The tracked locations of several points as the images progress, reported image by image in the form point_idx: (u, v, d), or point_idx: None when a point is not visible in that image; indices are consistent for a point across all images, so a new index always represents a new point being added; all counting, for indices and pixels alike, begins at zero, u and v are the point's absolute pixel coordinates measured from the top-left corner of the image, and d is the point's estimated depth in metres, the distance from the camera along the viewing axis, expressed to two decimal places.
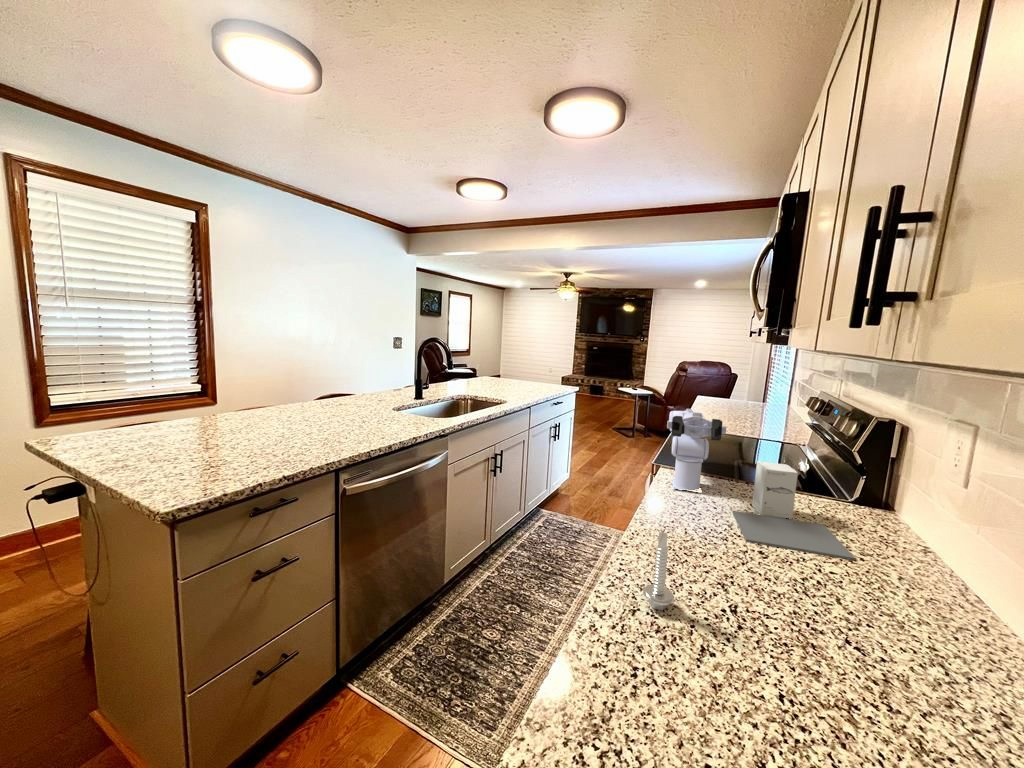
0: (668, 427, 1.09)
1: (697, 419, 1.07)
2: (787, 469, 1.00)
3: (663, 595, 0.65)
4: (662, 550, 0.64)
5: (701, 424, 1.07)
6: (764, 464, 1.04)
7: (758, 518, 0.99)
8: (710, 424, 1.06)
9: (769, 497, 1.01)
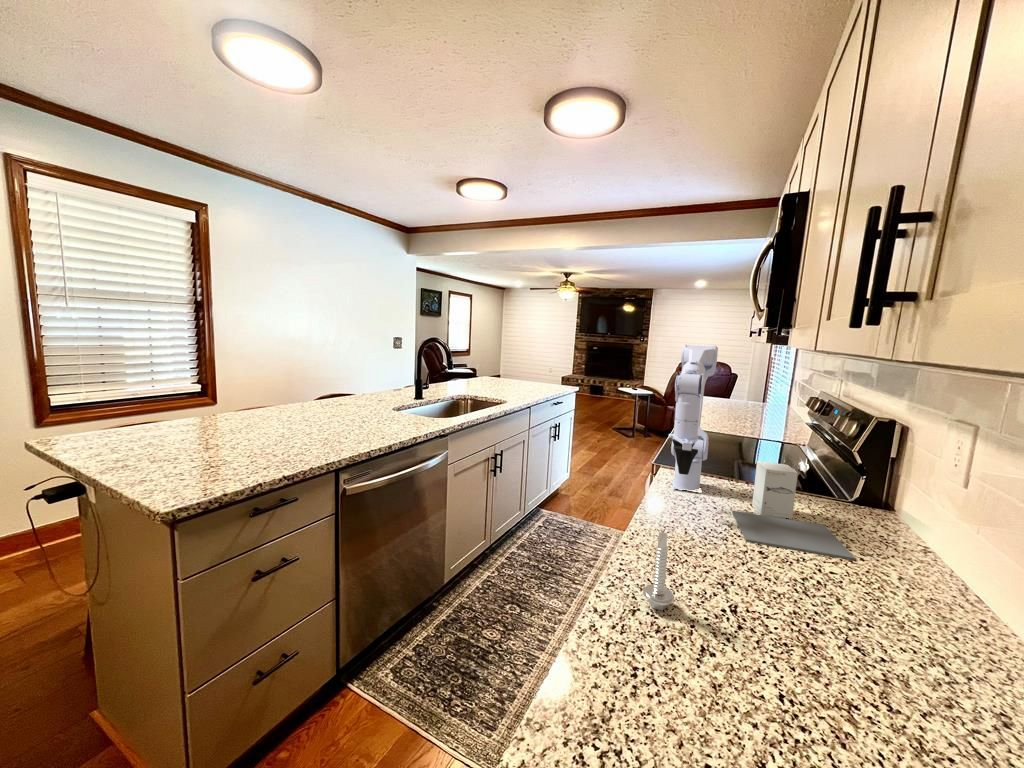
0: None
1: None
2: (787, 469, 1.00)
3: (663, 595, 0.65)
4: (662, 550, 0.64)
5: None
6: (764, 464, 1.04)
7: (758, 518, 0.99)
8: None
9: (769, 497, 1.01)
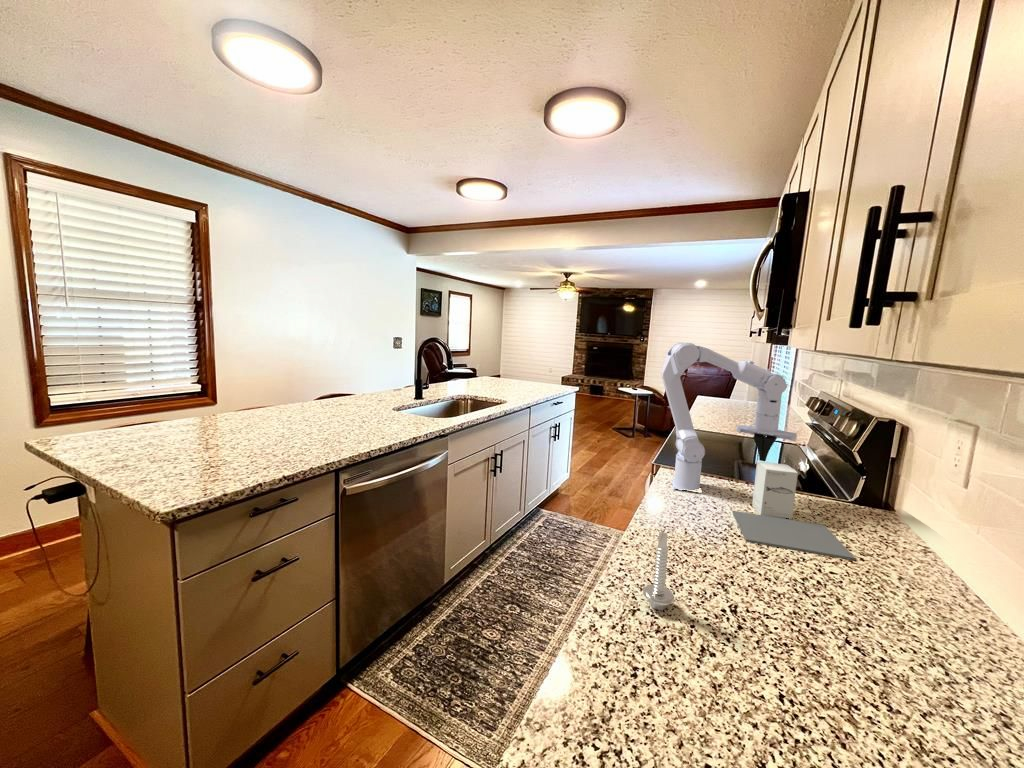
0: None
1: None
2: (787, 469, 1.00)
3: (663, 595, 0.65)
4: (662, 550, 0.64)
5: None
6: (764, 464, 1.04)
7: (758, 518, 0.99)
8: (779, 434, 1.11)
9: (769, 497, 1.01)
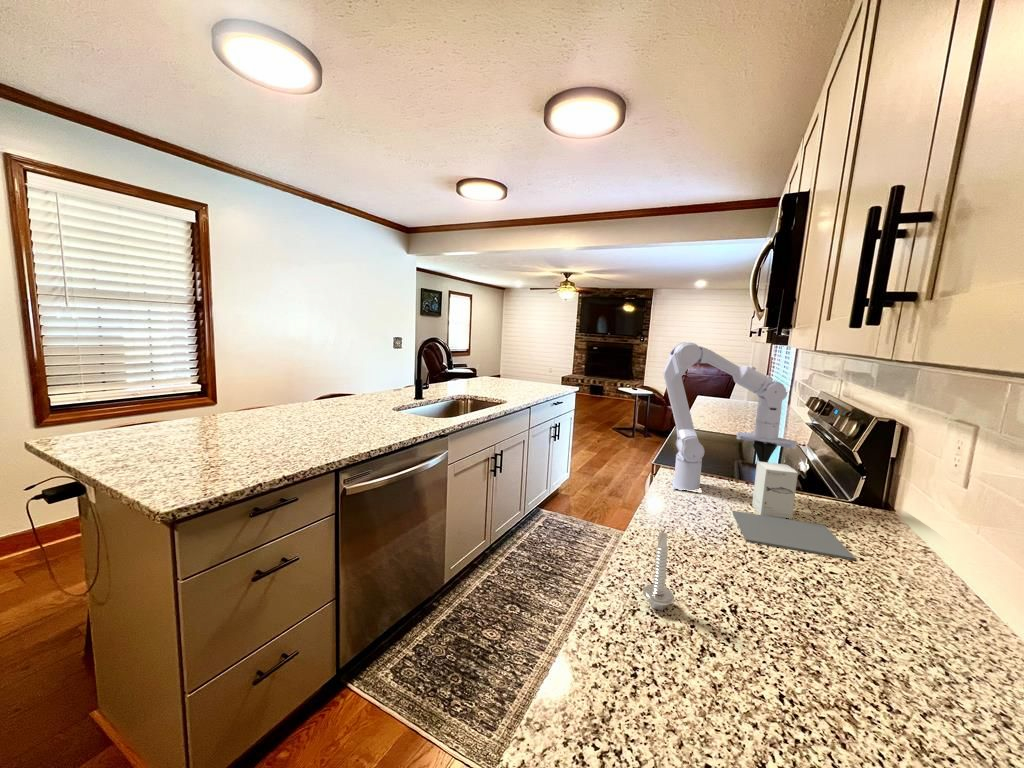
0: None
1: None
2: (787, 469, 1.00)
3: (663, 595, 0.65)
4: (662, 550, 0.64)
5: None
6: (764, 464, 1.04)
7: (758, 518, 0.99)
8: (779, 442, 1.10)
9: (769, 497, 1.01)
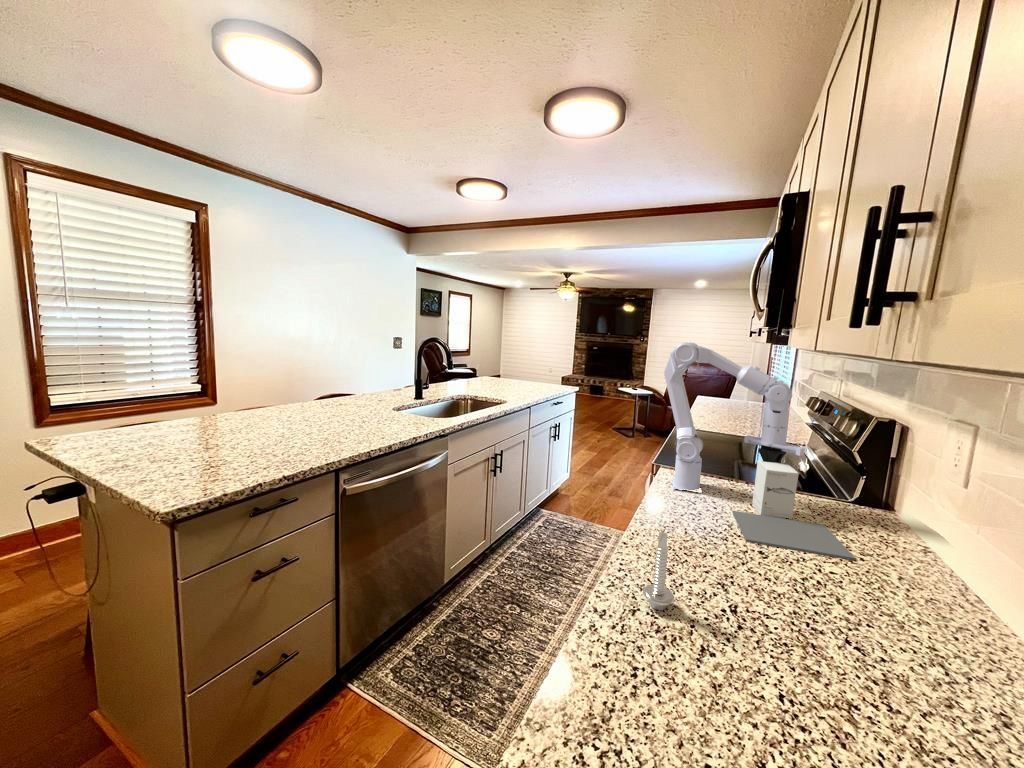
0: None
1: None
2: (788, 469, 1.00)
3: (663, 595, 0.65)
4: (662, 550, 0.64)
5: None
6: (765, 464, 1.03)
7: (758, 518, 0.99)
8: None
9: (769, 497, 1.00)
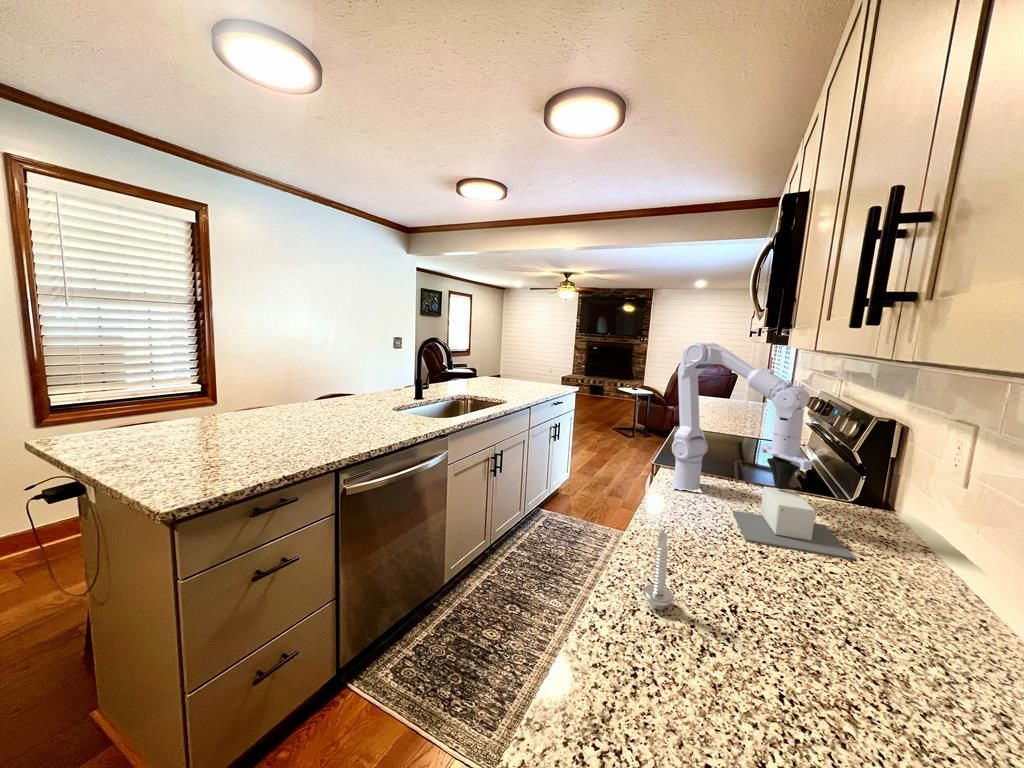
0: None
1: None
2: (803, 532, 0.88)
3: (663, 595, 0.65)
4: (662, 550, 0.64)
5: None
6: (781, 518, 0.89)
7: (758, 518, 0.99)
8: None
9: None
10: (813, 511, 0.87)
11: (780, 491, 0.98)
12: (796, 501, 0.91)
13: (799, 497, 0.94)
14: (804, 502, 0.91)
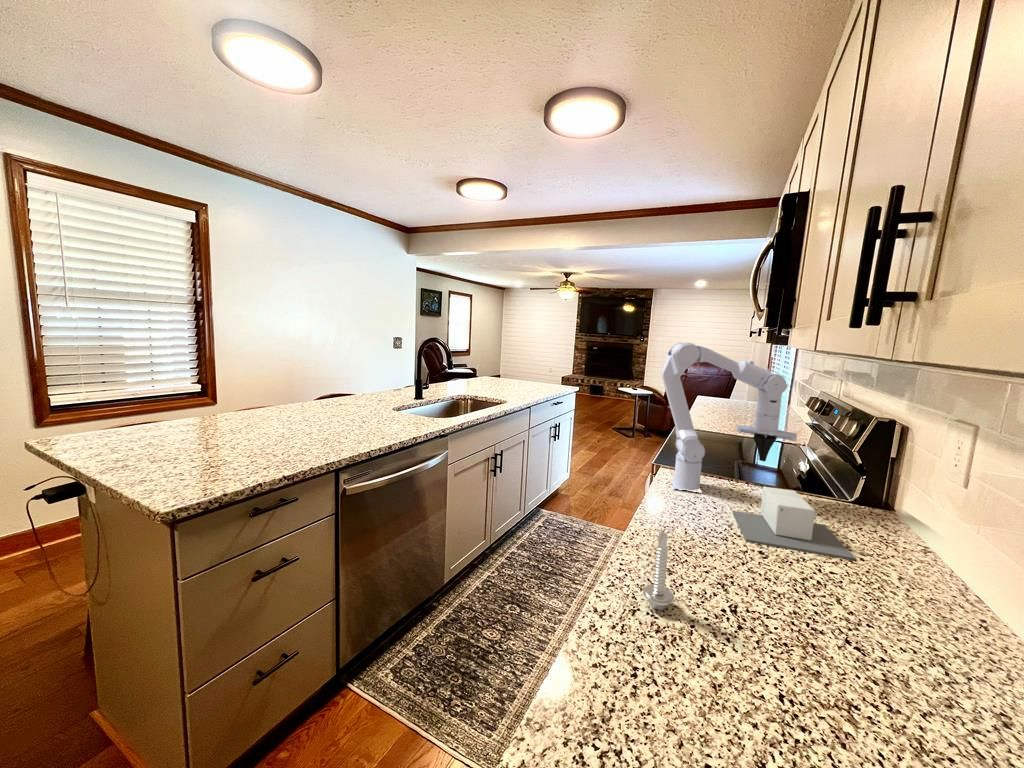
0: None
1: None
2: (803, 532, 0.88)
3: (663, 595, 0.65)
4: (662, 550, 0.64)
5: None
6: (781, 518, 0.89)
7: (758, 518, 0.99)
8: (779, 435, 1.11)
9: None
10: (813, 511, 0.87)
11: (780, 491, 0.98)
12: (796, 501, 0.91)
13: (799, 497, 0.95)
14: (804, 502, 0.91)
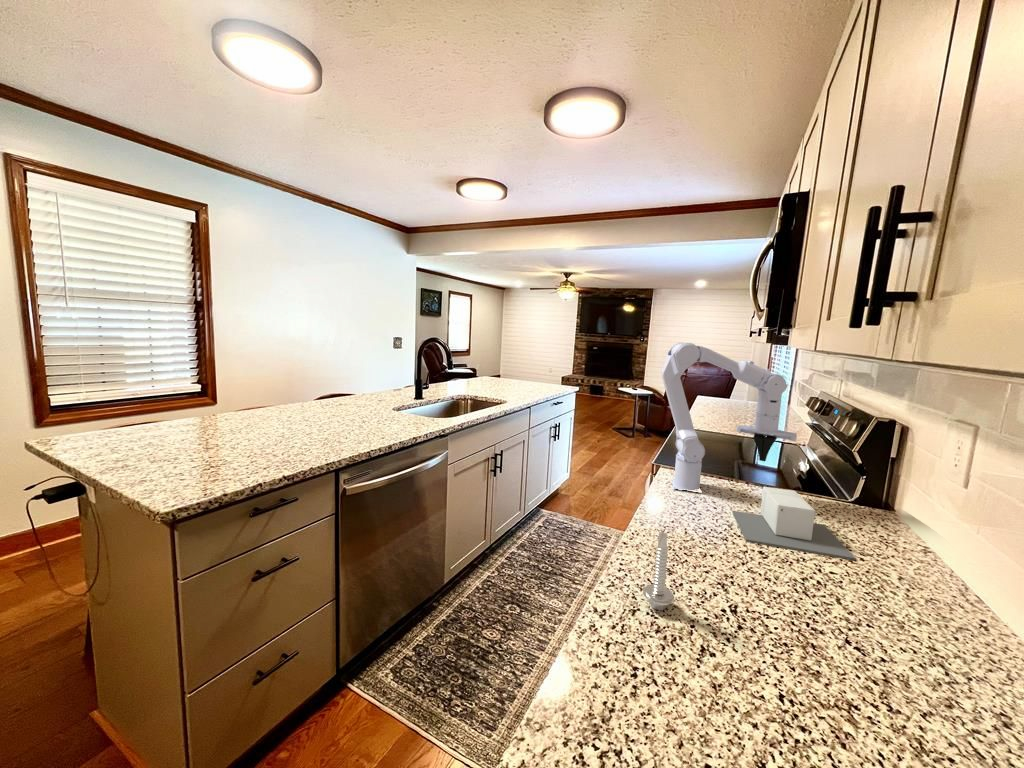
0: None
1: None
2: (803, 532, 0.88)
3: (663, 595, 0.65)
4: (662, 550, 0.64)
5: None
6: (781, 518, 0.89)
7: (758, 518, 0.99)
8: (779, 435, 1.11)
9: None
10: (813, 511, 0.87)
11: (780, 491, 0.98)
12: (796, 501, 0.91)
13: (799, 497, 0.95)
14: (804, 502, 0.91)
